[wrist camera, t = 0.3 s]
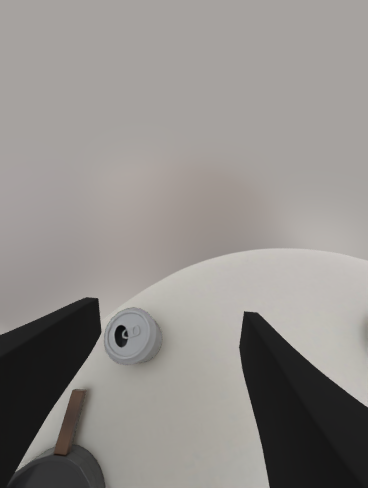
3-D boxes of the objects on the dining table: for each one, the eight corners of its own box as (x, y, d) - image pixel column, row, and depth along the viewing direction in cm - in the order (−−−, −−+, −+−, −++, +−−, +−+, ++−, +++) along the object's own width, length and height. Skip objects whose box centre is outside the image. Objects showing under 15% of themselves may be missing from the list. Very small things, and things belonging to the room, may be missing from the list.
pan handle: (70, 451, 27) (65, 455, 26) (57, 450, 27) (52, 454, 26) (87, 389, 30) (83, 391, 29) (75, 388, 30) (72, 390, 29)
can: (120, 325, 38) (96, 314, 27) (157, 313, 39) (148, 298, 28) (126, 368, 34) (101, 374, 24) (167, 354, 35) (160, 353, 25)
